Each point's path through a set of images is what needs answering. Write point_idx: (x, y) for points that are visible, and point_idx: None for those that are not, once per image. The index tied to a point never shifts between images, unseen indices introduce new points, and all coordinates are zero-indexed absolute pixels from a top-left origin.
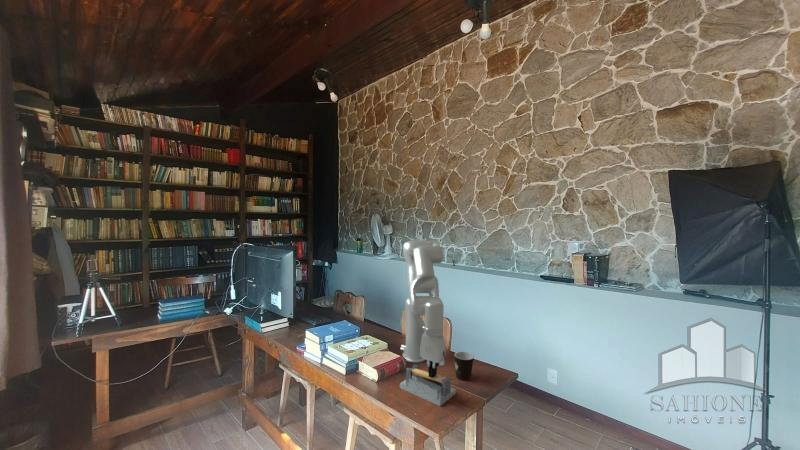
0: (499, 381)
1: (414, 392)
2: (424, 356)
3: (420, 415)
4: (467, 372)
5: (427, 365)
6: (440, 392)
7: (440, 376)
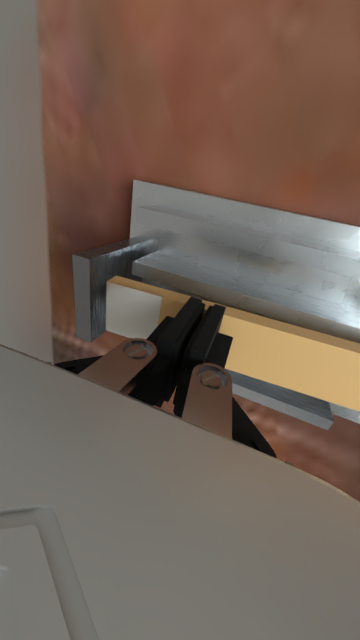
0: None
1: (336, 221)
2: (259, 514)
3: None
4: None
5: (229, 376)
6: (154, 255)
7: (146, 338)
